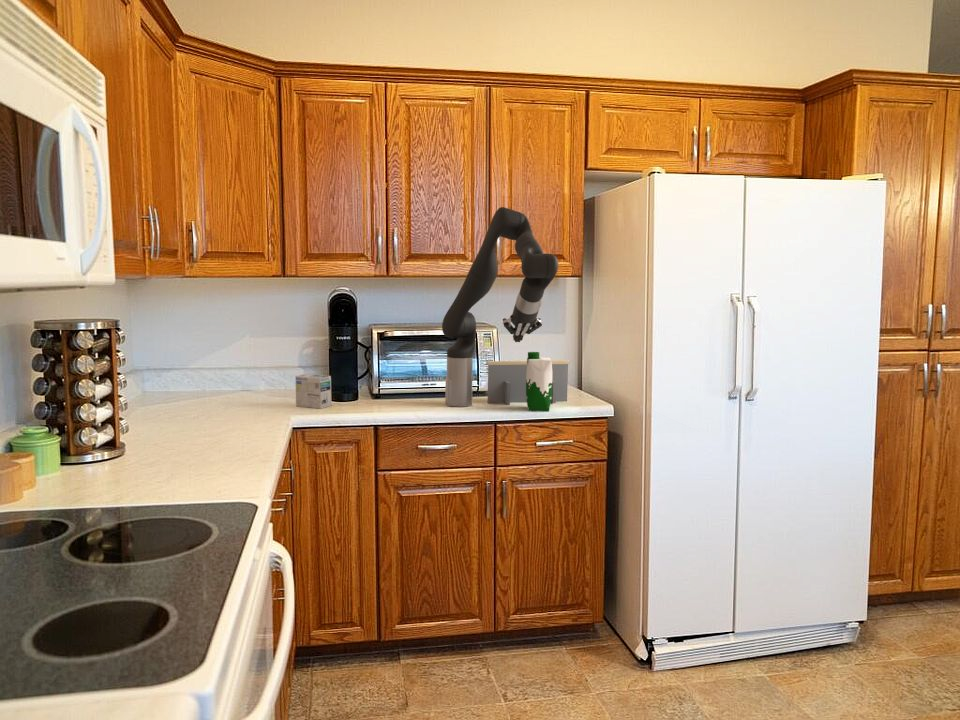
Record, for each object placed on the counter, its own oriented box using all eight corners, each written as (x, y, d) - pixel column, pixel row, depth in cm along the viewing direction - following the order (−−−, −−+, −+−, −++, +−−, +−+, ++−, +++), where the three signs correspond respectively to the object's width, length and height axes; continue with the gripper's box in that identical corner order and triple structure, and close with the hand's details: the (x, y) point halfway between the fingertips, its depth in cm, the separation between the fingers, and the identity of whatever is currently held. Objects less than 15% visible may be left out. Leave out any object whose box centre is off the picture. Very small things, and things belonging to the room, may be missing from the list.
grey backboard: (489, 405, 261) (490, 363, 259) (485, 401, 267) (486, 361, 265) (572, 403, 267) (573, 362, 265) (566, 399, 274) (567, 360, 272)
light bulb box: (332, 405, 256) (331, 375, 255) (321, 409, 250) (320, 378, 248) (306, 403, 260) (306, 373, 259) (295, 406, 254) (294, 375, 252)
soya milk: (524, 406, 260) (526, 350, 257) (550, 407, 259) (552, 351, 257) (526, 411, 251) (527, 353, 248) (552, 412, 251) (553, 354, 248)
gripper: (546, 295, 226) (534, 331, 239) (504, 295, 223) (495, 331, 237) (551, 313, 222) (538, 349, 235) (508, 313, 219) (498, 349, 232)
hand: (516, 340), depth 236 cm, fingers closed
